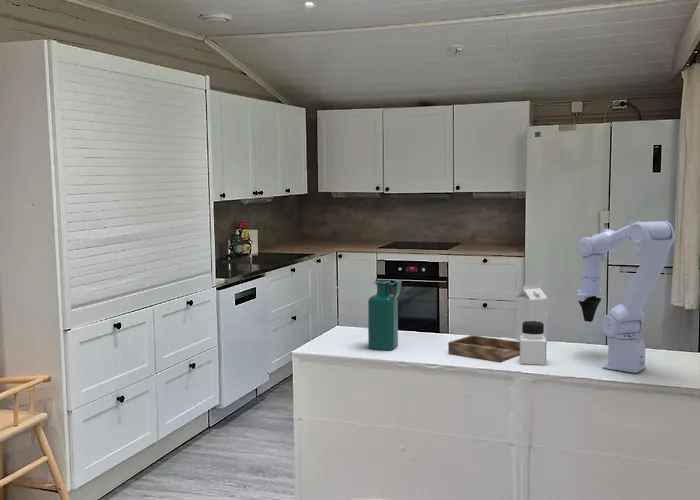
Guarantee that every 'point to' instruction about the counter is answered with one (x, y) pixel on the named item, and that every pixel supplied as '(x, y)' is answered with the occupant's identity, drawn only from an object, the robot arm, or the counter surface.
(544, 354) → the medicine bottle
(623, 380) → the counter surface
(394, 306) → the pitcher
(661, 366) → the counter surface
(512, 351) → the wooden tray
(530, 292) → the milk carton
